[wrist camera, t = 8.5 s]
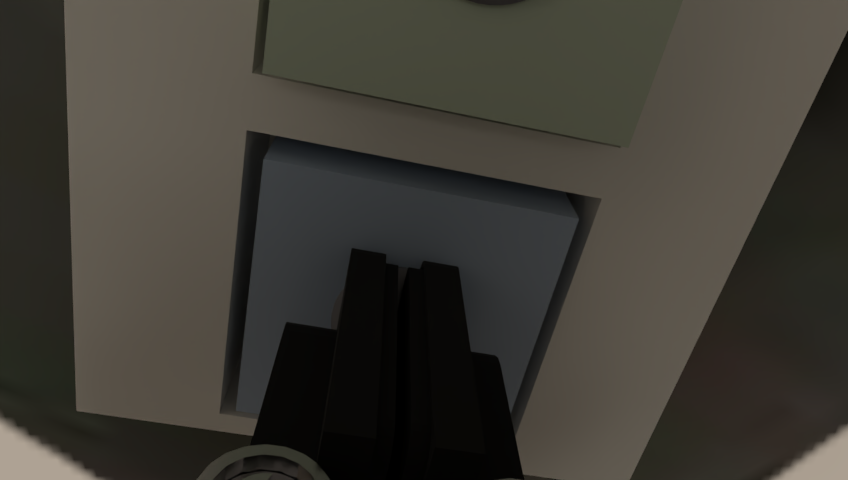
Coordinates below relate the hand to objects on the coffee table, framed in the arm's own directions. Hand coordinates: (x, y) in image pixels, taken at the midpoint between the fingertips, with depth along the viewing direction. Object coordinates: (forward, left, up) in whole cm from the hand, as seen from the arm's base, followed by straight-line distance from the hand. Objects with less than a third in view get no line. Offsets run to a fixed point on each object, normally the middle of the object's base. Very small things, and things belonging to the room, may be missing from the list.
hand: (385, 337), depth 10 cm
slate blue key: (0, 0, -3) cm, 3 cm away
